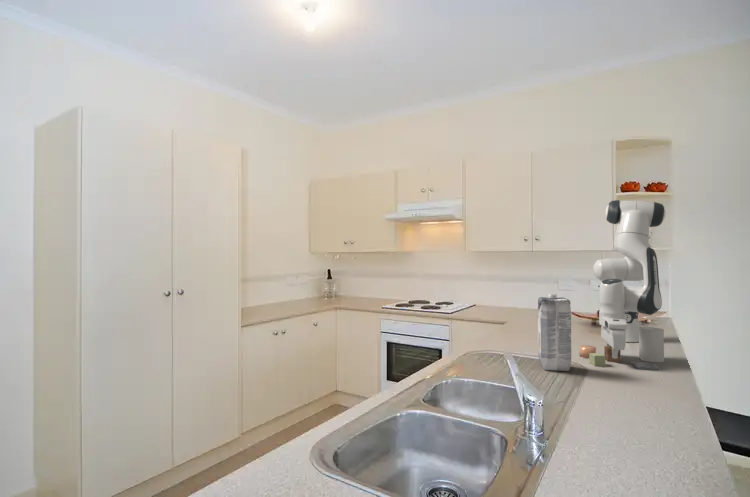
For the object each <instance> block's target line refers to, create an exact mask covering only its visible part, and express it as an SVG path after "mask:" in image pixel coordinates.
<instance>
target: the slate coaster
mask: <svg viewBox="0 0 750 497" xmlns="http://www.w3.org/2000/svg"><path fill="white" fill-rule="evenodd" d="M630 363H631V365H632V366H633V367H635V369H637V370H648V371H649V370H650V371H651V370H652V371H660V367H659V366H657V365H656V364H655V363H654V362H647V361H643V362H641V361H630Z"/></svg>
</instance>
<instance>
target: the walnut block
mask: <svg viewBox="0 0 750 497" xmlns="http://www.w3.org/2000/svg"><path fill="white" fill-rule="evenodd" d="M603 347H604V348H603V349H604V353H603V354H604V355H605V362H608V363H611V362H612V363H621V359H622V358H621V357H622V356H621V350H619V351H618V358H617V359H613V358H612V357H611V353H612V347H611V346H607V345H604V346H603Z"/></svg>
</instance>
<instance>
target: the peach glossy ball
mask: <svg viewBox="0 0 750 497" xmlns="http://www.w3.org/2000/svg"><path fill="white" fill-rule="evenodd" d="M578 350H579V352H578V353H579V357H580V358H582V357H583V359H588V358H589V353H597V347H596V346H593V345H584V344H583V345H579V347H578Z"/></svg>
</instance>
